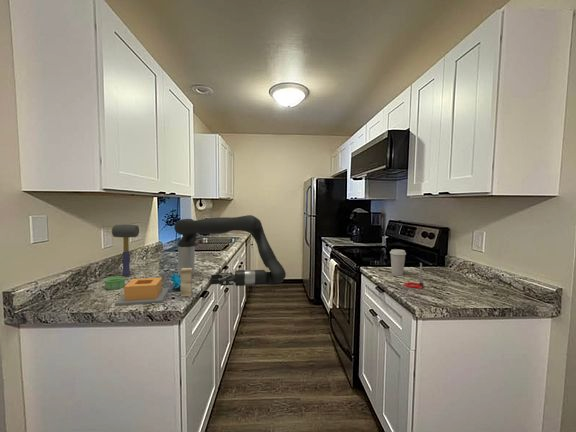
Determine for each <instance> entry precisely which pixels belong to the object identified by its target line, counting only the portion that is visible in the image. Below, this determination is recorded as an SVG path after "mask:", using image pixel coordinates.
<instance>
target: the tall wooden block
mask: <svg viewBox="0 0 576 432" xmlns="http://www.w3.org/2000/svg"><path fill="white" fill-rule="evenodd" d="M192 293H193V275H192V268H182V269H181V290H180V297H192Z"/></svg>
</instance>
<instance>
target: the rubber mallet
mask: <svg viewBox="0 0 576 432" xmlns="http://www.w3.org/2000/svg"><path fill="white" fill-rule="evenodd" d="M111 234H112V237H114V238H123V241H122V242H123V247H122V248H123V251H122V257H121V258H122V272H121V273H122V277H125V278H126V277H130V275H131V268H130V266H131V265H130V262H131V261H130V260H131V254H130V251H129V248H130V247H129V238H137V237H138V236H139V234H140V228H139V225H136V224H115V225H113V226H112V229H111Z"/></svg>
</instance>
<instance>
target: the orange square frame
mask: <svg viewBox="0 0 576 432" xmlns="http://www.w3.org/2000/svg"><path fill="white" fill-rule="evenodd" d="M123 288H124V292H123V293H124V294H123V295H122V296H121V297H120V298H119V299H118V300H117V301H116V302H114V306H115V307H118V306H131V305H134V306H135V305H145V304H146V305H147V304H160V303H163V302H164V299H165V298H166V297H167V294H168V292H170V287H163V277H146V278H143V277H142V278H133V279H131V280H130V281H129V282H128V283H127V284H126V285H124V287H123Z"/></svg>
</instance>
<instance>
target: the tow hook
mask: <svg viewBox="0 0 576 432" xmlns="http://www.w3.org/2000/svg"><path fill="white" fill-rule="evenodd" d="M403 285H404V287H407V288H413V289H414V288H415V289H416V288H417V289H419V290H421V289H423V288H424V285H425V284H424V278H423V263H422V262H419V282H409V281H408V282H404V283H403Z"/></svg>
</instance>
